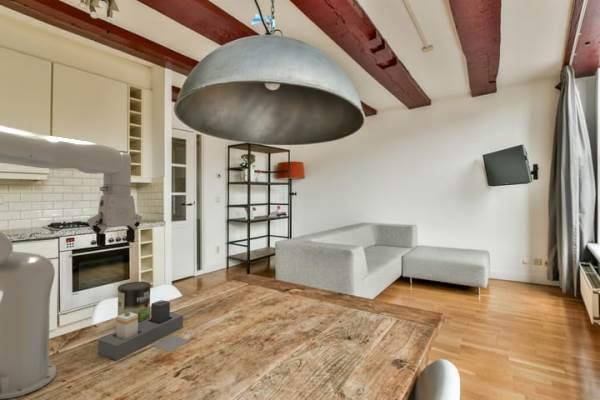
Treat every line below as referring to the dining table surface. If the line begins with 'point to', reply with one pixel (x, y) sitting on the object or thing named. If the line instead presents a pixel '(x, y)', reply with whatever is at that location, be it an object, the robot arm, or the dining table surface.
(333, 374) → the dining table surface
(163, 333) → the dark grey socket base
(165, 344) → the mat
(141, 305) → the coffee can
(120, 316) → the plug
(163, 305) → the twin plug
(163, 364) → the dining table surface
